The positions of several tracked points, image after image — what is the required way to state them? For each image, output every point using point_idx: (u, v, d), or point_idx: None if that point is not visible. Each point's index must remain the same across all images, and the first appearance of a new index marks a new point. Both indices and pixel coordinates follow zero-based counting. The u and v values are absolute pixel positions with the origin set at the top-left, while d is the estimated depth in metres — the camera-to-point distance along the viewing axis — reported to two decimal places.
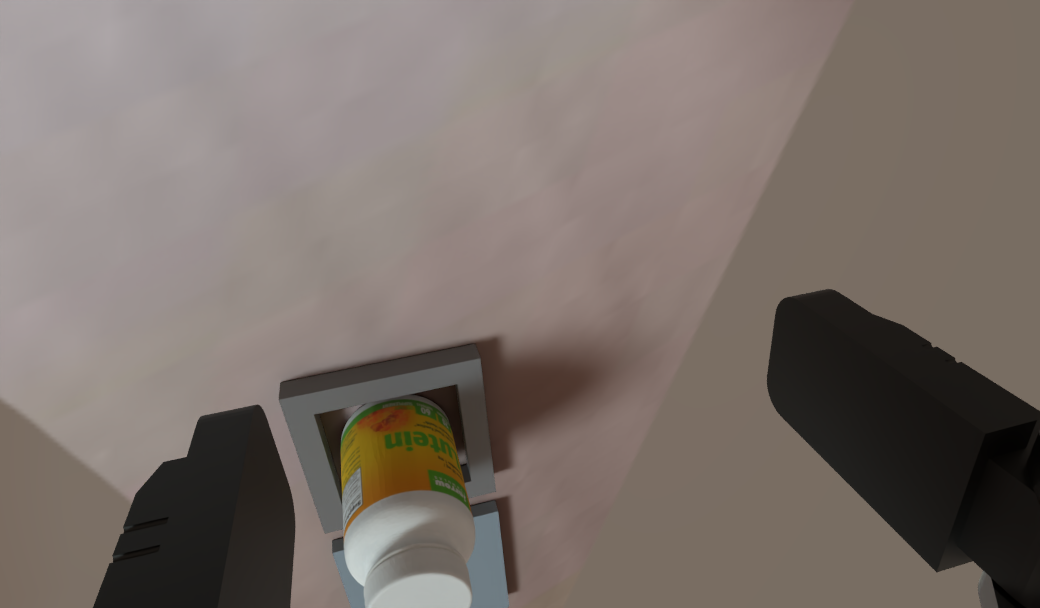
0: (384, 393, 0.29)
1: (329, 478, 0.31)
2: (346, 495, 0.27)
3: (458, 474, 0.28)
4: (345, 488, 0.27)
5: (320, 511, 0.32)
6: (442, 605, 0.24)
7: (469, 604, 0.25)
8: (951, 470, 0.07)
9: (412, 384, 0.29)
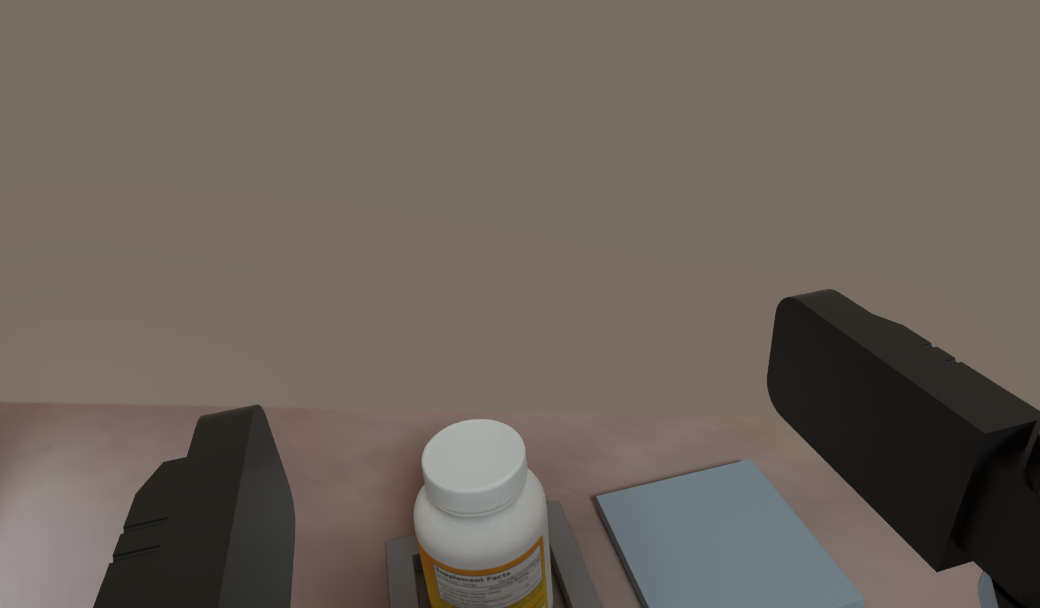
0: None
1: None
2: (462, 599, 0.25)
3: None
4: (465, 607, 0.25)
5: None
6: (473, 437, 0.25)
7: (478, 419, 0.26)
8: (951, 470, 0.07)
9: (404, 593, 0.29)
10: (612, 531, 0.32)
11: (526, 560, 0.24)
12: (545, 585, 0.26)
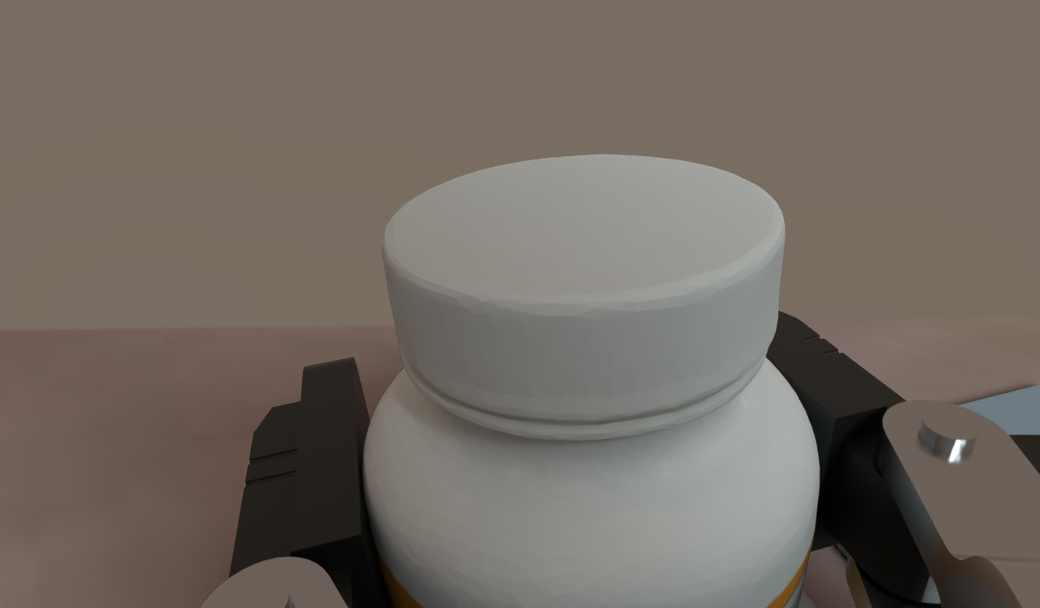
0: None
1: None
2: None
3: None
4: None
5: None
6: (566, 183, 0.07)
7: None
8: None
9: None
10: None
11: None
12: None
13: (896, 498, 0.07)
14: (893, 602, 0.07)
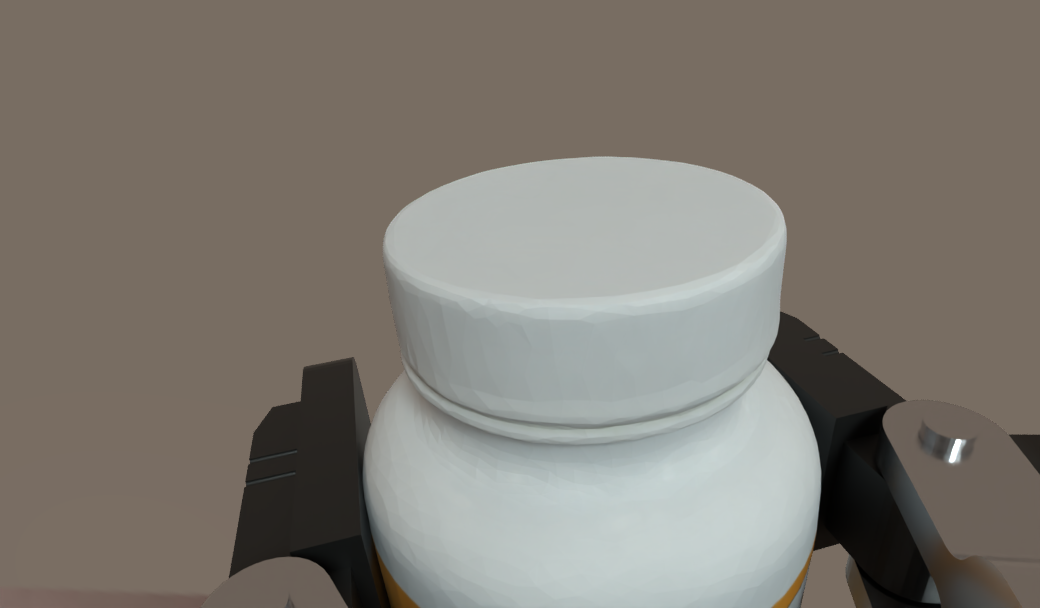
0: None
1: None
2: None
3: None
4: None
5: None
6: (566, 185, 0.07)
7: (572, 158, 0.08)
8: None
9: None
10: None
11: None
12: None
13: (896, 498, 0.07)
14: (893, 602, 0.07)
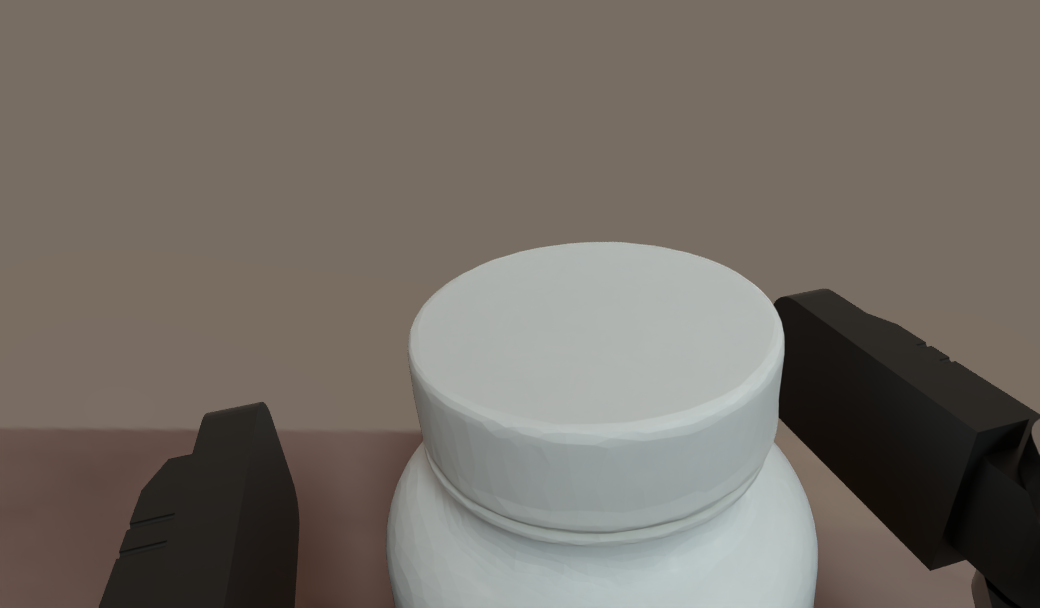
0: None
1: None
2: None
3: None
4: None
5: None
6: (578, 279, 0.08)
7: (583, 243, 0.09)
8: (944, 469, 0.07)
9: None
10: None
11: None
12: None
13: None
14: None
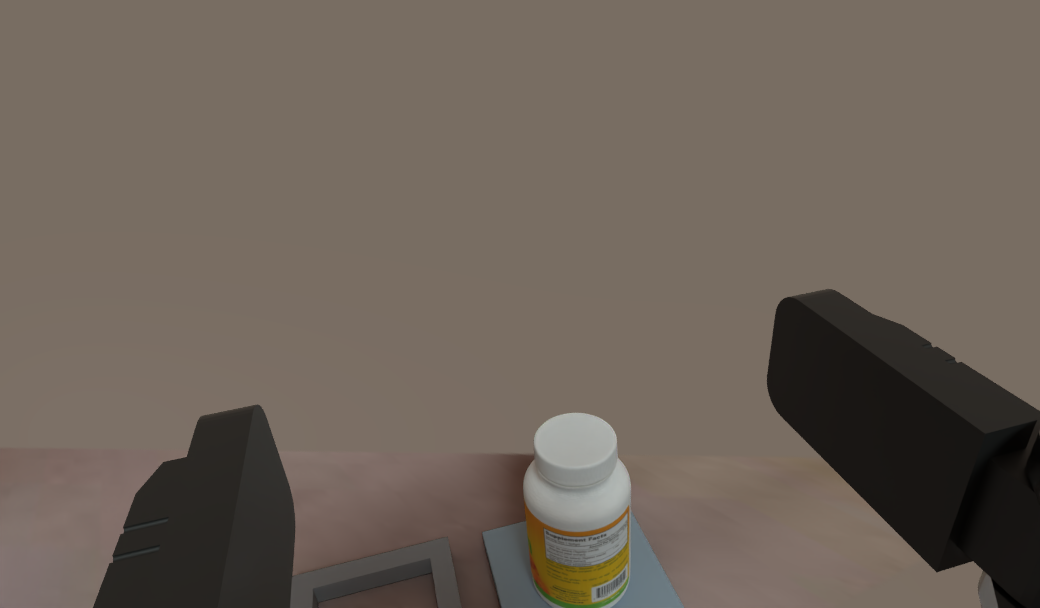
0: None
1: None
2: (566, 556, 0.31)
3: None
4: (568, 563, 0.31)
5: None
6: (572, 427, 0.31)
7: (573, 413, 0.32)
8: (951, 470, 0.07)
9: None
10: (490, 564, 0.36)
11: (618, 524, 0.31)
12: (628, 547, 0.33)
13: None
14: None
